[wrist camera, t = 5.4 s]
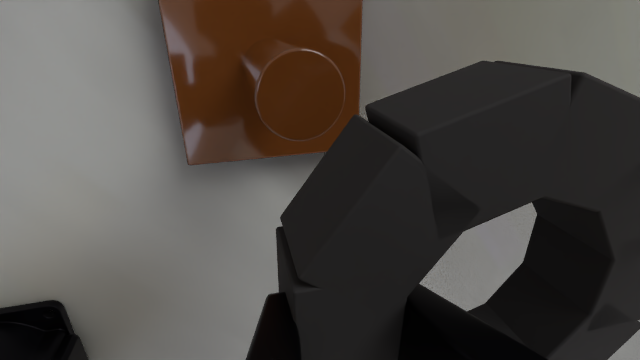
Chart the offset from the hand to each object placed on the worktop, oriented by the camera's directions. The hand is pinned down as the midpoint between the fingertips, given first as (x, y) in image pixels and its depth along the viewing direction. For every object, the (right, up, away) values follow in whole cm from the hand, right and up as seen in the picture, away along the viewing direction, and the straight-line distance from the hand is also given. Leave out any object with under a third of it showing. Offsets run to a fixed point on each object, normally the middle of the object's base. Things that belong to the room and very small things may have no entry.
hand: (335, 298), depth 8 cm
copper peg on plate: (-3, +8, +8) cm, 12 cm away
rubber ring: (+3, +1, +2) cm, 4 cm away
